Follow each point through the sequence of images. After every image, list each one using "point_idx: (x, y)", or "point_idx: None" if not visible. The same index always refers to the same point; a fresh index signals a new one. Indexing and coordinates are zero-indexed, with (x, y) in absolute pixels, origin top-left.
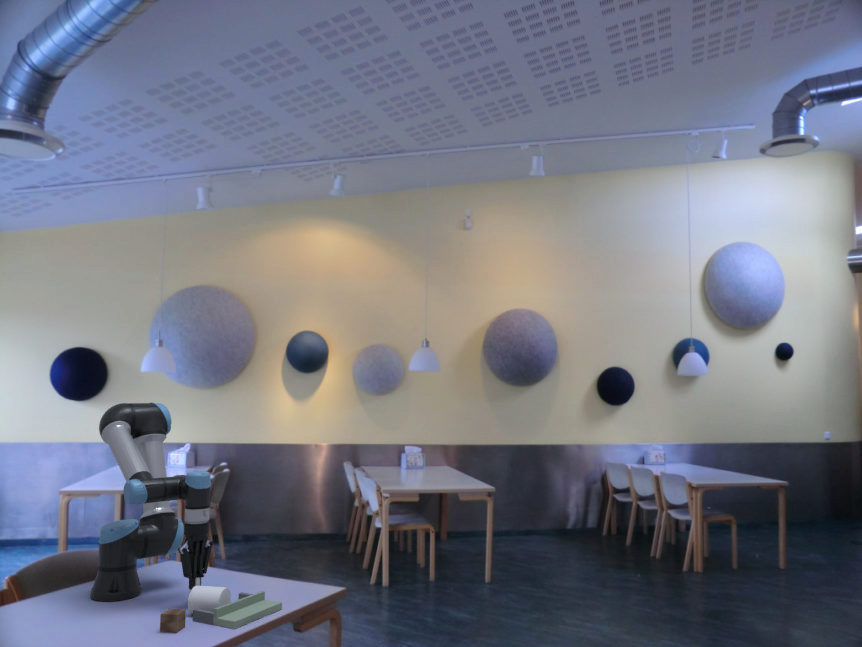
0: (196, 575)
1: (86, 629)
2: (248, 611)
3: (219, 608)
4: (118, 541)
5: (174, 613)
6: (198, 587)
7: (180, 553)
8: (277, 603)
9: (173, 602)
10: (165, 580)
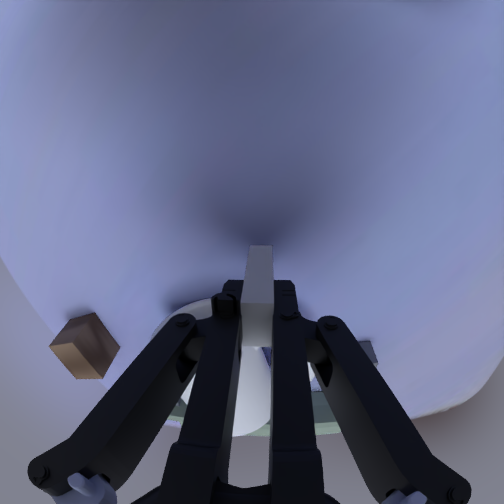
0: (272, 330)
1: None
2: None
3: (175, 420)
4: None
5: (73, 370)
6: None
7: (61, 451)
8: (330, 431)
9: (263, 126)
10: None
